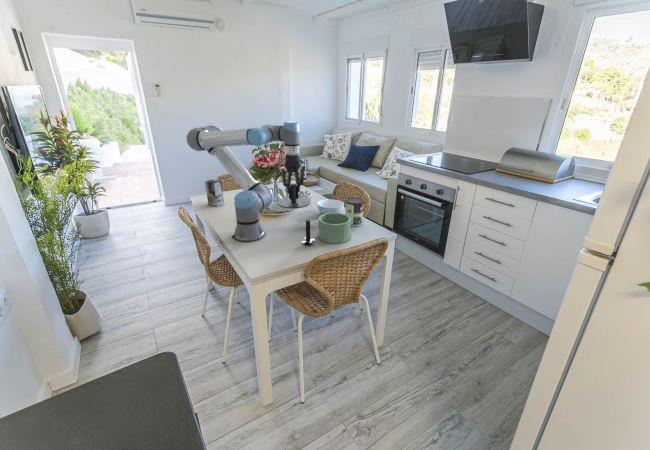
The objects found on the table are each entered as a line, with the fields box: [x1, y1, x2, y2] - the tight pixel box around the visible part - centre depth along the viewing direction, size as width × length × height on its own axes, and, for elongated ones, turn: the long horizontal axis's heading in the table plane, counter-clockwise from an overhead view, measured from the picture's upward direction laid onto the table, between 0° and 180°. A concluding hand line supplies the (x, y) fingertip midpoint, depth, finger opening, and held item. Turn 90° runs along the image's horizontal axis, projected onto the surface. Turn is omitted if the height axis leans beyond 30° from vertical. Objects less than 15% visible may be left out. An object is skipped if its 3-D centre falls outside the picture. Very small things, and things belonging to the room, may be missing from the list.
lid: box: [276, 182, 311, 210], centre depth 166 cm, size 18×18×11 cm
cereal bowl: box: [316, 198, 345, 215], centre depth 198 cm, size 17×17×7 cm
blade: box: [301, 219, 316, 246], centre depth 158 cm, size 7×7×13 cm
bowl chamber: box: [318, 212, 351, 244], centre depth 167 cm, size 17×17×10 cm
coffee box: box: [204, 179, 225, 207], centre depth 211 cm, size 9×6×16 cm
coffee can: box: [344, 197, 364, 227], centre depth 183 cm, size 10×10×14 cm
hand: (293, 198), depth 167 cm, fingers closed on lid, 3 cm apart
